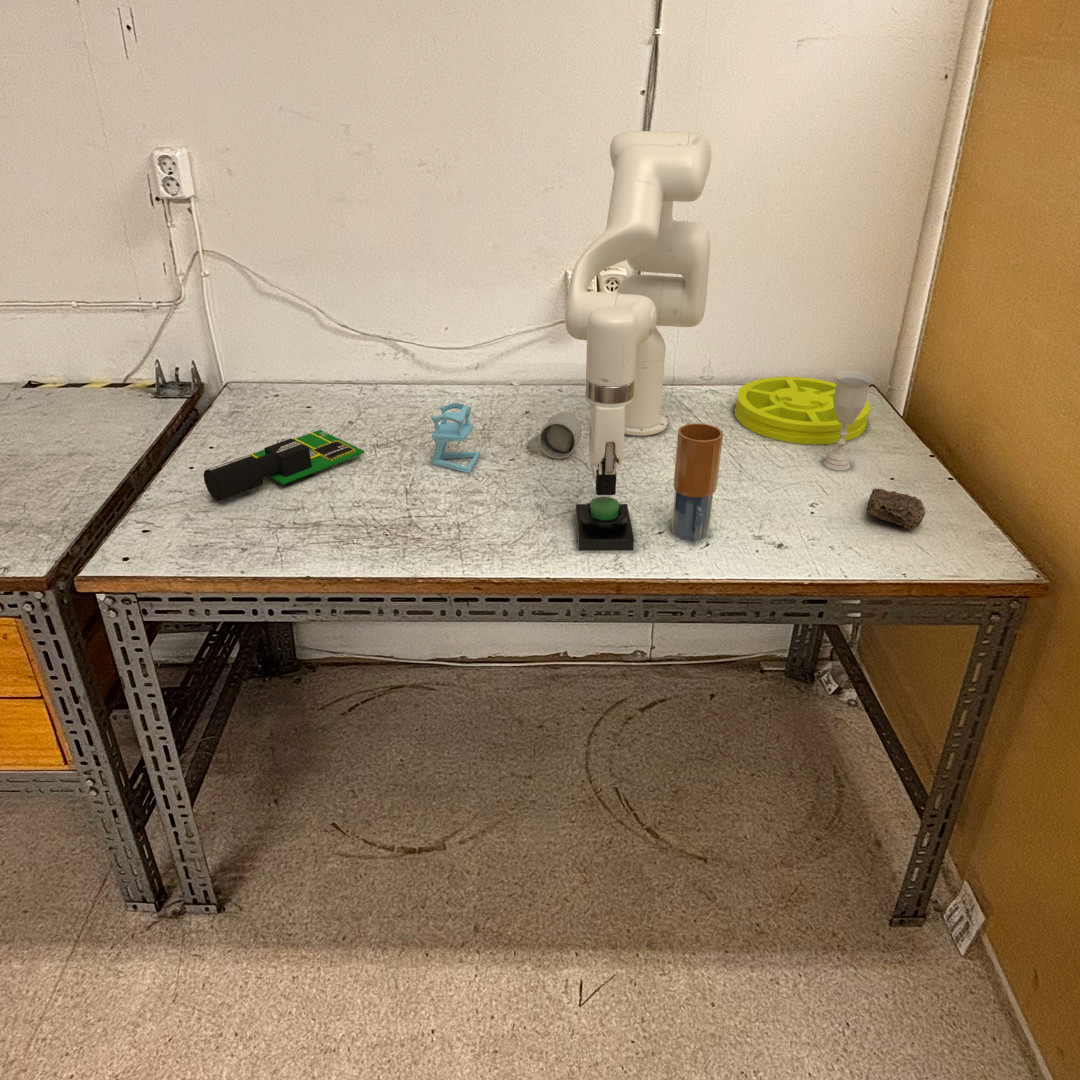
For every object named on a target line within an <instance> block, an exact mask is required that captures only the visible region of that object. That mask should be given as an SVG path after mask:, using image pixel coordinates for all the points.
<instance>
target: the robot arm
mask: <svg viewBox="0 0 1080 1080" xmlns="http://www.w3.org/2000/svg"><path fill="white" fill-rule="evenodd" d="M609 146H610V147H609V159H610V163H611V166H612V169H613V177H612V179H613V180H612V185H611V192H610V199H609V205H608V211H607V218H606V227H605V230H604V232H603V233H601V234H600V235H599V236H598V237H597V238H596V239H594V240H593V241H592V242H591V243H590V244H589V245H588V246H587V247H586V248H585V249H584V251H583V252H582V253H581V254H580V256H579V258H578V259H577V261H576V263H575V264H574V267H573V269H572V271H571V275H570V278H569V284H568V291H567V296H566V303H565V310H564V325H565V329H566V331H567V333H568V334H569V336H570V337H572V338H573V339H574V340H575V339H576V340H580V341H586V359H585V360H586V363H585V366H586V367H585V400H586V401H587V402H588V403H589V404H590V411H589V413H590V414H589V430H588V431H589V432H588V434H589V435H588V448H589V449H588V450H589V456H590V463H591V464H592V465H593V466H596V465H597V468H596V470H595V494H596V496H615V495H616V491H617V473H618V472H617V465H618V466H620V465H621V464H622V463H623V457H624V449H625V447H624V445H625V435H627V436H635V437H636V436H637V437H638V436H639V437H644V436H652V435H656V434H659V433H663V432H664V431H665V430H666V429H667V427H668V419H667V417H666V415H663V414H662V413H661V412H662V401H663V400H662V399H663V387H664V373H665V361H666V352H667V351H666V350H667V349H666V348H667V347H666V343H665V339H664V338H663V336H662V334H661V332H660V331H659V329H658V328H657V327H674V328H693V327H697V326H699V324H701V322H702V321H703V318H704V315H705V312H706V304H707V293H708V282H709V270H710V259H711V258H710V257H711V236H710V232H709V230H708V228H707V226H705V225H704V224H703V223H700V222H697V221H685V220H675V219H673V209H674V208H673V207H674V202H679V203H681V202H683V203H690V202H691V203H692V202H695V201H697V200H698V199H699V198H700V197H701V196H702V193H703V191H704V190H705V189H704V188H705V185H706V182H707V179H708V176H709V173H710V169H711V164H712V146H711V142H710V139H709V137H708V136H707V135H705V134H704V133H701V132H689V131H688V132H687V131H685V132H684V131H683V132H682V131H660V130H659V131H658V130H654V131H653V130H631V131H630V130H628V131H622V132H620V133H618V134H616V135H615V136H614V137H612V140H611V141H610V145H609ZM625 261H626V263H627V265H628V266H629V268H631V269H633V270H635V271H637V272H641V273H642V272H643V273H656V274H634V275H633V274H632V275H629V276H627V277H626V278H624V279H623V280H622V281H621V282H620V283H619V285H618V288H617V292H606V291H605V292H603V291H588V290H589V288H590V287H589V286H590V285H591V283H592V281H593V280H594V279H595V278H596V276H598V275H599V274H600V273H602V272H603V271H605V270H607V269H608V268H610V267H612V266H615V265H618V264H619V263H622V262H625ZM657 274H659V275H657ZM660 274H672V275H673V274H674V275H680V276H669V275H660Z"/></svg>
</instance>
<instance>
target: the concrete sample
mask: <svg viewBox="0 0 1080 1080" xmlns="http://www.w3.org/2000/svg"><path fill="white" fill-rule="evenodd" d="M866 512H868V514H869V515H870V516H874V517H875V518H877V519H880V520H883V521H886V522H888V523H894V524H896V525H898V526H903V527H904V528H906V529H913V528H917V527H919V526H920V525H921V523H922V522H923V520H924V517H925V515H926V507H925V506H924V504H923V501H922V500H921V499H919V498H918V497H916V496H912V495H909V494H908V493H901V492H896V491H895V490H892V491H888V490H886V489H884V488H873V490H871V493H870V494H869V500H868V502H867V507H866Z"/></svg>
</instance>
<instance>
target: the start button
mask: <svg viewBox="0 0 1080 1080" xmlns="http://www.w3.org/2000/svg"><path fill="white" fill-rule="evenodd" d="M589 503H590V515H591V516H592V517H593V518H596V519H599V520H611V519H614V518H617V517H618V515H619V504H620V502H619V500H618V499H616V498H614V497H611V496H598V497H597V496H596V497H594V498H593V499H592V500H591V501H590V502H589Z"/></svg>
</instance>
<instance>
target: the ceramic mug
mask: <svg viewBox="0 0 1080 1080" xmlns="http://www.w3.org/2000/svg"><path fill="white" fill-rule="evenodd" d="M582 429H583V428H582V424H581V422H580V420H579V418H578V417H577V416H576V415H575V414H573V413H570V412H569V411H568V412H567V411H560V412H558V413H557V412H556V413H555V414H554V415H552V416H551V417H550V418H549V419H548V420H547V422H546V423H545V424H544V425H543V426H542V428H541V430H540V432H539V433H538V434H536V435H534V436H533V437H531V438H530V439H529V440H528V441H527V447H528V448H529V450H530V451H537V450H541V451H542V452H543V453H544V454H545V455H546V456H548V457H549V458H553V459H556V460H558V459H559V460H560V459H561V460H563V459H565V458H568V457H569V456H571V455H572V454H573V453H574V451H575V450H576V448H577V445H578V443H579V440H580V439H581V436H582Z"/></svg>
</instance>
